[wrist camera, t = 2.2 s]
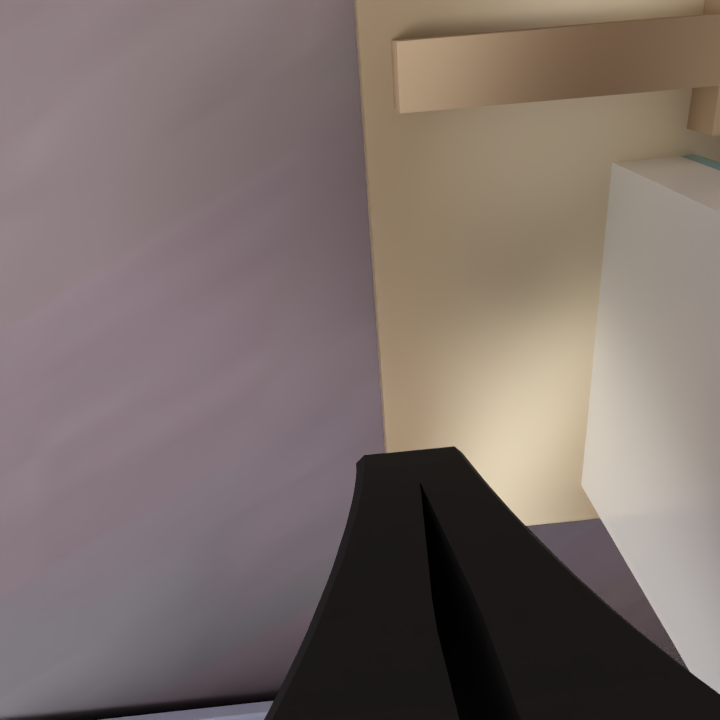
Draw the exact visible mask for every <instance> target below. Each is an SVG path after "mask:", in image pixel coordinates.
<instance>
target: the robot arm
mask: <svg viewBox="0 0 720 720" xmlns="http://www.w3.org/2000/svg"><path fill="white" fill-rule="evenodd" d="M356 469H357V473H356V483H355V490H354V495H353V500H352V504H351V508H350V512H349V516H348V520H347V524H346V528H345V531H344V534H343V537H342V540H341V543H340V546H339V550H338V553H337V556H336V559H335V562H334V565H333V568H332V571H331V574H330V576H329V579H328V582H327V584H326V587H325V589H324V592H323V594H322V596H321V599H320V601H319V604H318V606H317V609H316V611H315V614H314V616H313V619H312V621H311V624H310V626H309V629H308V631H307V633H306V635H305V638H304V640H303V642H302V644H301V646H300V649H299V651H298V653H297V655H296V657H295V659H294V661H293V663H292V666H291V668H290V670H289V672H288V674H287V676H286V678H285V680H284V682H283V684H282V686H281V688H280V690H279V692H278V694H277V696H276V697H275V699H274V701H265V702H255V703H246V704H237V705H228V706H219V707H210V708H200V709H191V710H182V711H173V712H164V713H154V714H145V715H136V716H127V717H118V718H109V719H99V720H720V694H719V693H718V692H716V691H715V690H714V689H712V688H711V687H710V686H708V685H707V684H705V683H704V682H703V681H701V680H700V679H699V678H697V677H696V676H695V675H693V674H692V673H691V672H689V671H688V670H687V669H685V668H684V667H683V666H682V665H680V664H679V663H678V662H677V661H675V660H674V659H673V658H672V657H670V656H669V655H668V654H666V653H665V652H664V651H663V650H661V649H660V648H659V647H658V646H656V645H655V644H654V643H653V642H651V641H650V640H649V639H648V638H646V637H645V636H644V635H643V634H641V633H640V632H639V631H638V630H637V629H636V628H634V627H633V626H632V625H631V624H630V623H628V622H627V621H626V620H625V619H624V618H623V617H621V616H620V615H619V614H618V613H617V612H616V611H614V610H613V609H612V608H611V607H610V606H609V605H607V604H606V603H605V602H604V601H603V600H602V599H601V598H600V597H599V596H598V595H596V594H595V593H594V592H593V591H592V590H591V589H590V588H589V587H588V586H587V585H586V584H584V583H583V582H582V581H581V580H580V579H579V578H578V577H577V576H576V575H575V574H574V573H573V572H571V571H570V570H569V569H568V568H567V567H566V566H565V565H564V564H563V563H562V562H561V561H560V560H559V559H558V558H557V557H556V556H555V555H554V554H553V553H552V552H551V551H550V550H549V549H548V548H547V547H546V546H545V545H544V544H543V543H542V542H541V541H540V540H539V539H538V538H537V537H536V536H535V535H534V534H533V533H532V532H531V531H530V530H529V529H528V528H527V527H526V526H525V525H524V524H523V522H522V521H521V520H520V519H519V518H518V517H517V516H516V515H515V514H514V513H513V512H512V511H511V510H510V508H509V507H508V506H507V505H506V504H505V503H504V502H503V501H502V500H501V498H500V497H499V496H498V495H497V494H496V493H495V492H494V490H493V489H492V488H491V487H490V486H489V485H488V484H487V482H486V481H485V480H484V479H483V478H482V476H481V475H480V474H479V473H478V472H477V470H476V469H475V468H474V467H473V465H472V464H471V463H470V462H469V460H468V459H467V458H466V457H465V455H464V454H463V453H462V452H461V451H460V450H458V449H457V448H456V447H455V446H452V447H442V448H432V449H422V450H412V451H402V452H392V453H382V454H372V455H364V456H363V457H362V458H361V459H360V460H359V461H358V462H357V463H356Z"/></svg>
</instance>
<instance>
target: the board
mask: <svg viewBox="0 0 720 720" xmlns="http://www.w3.org/2000/svg"><path fill="white" fill-rule="evenodd" d="M704 4H705V0H354V9H355V23H356V38H357V52H358V67H359V81H360V96H361V110H362V125H363V139H364V154H365V168H366V183H367V197H368V212H369V226H370V240H371V255H372V269H373V284H374V298H375V313H376V327H377V342H378V356H379V371H380V385H381V400H382V414H383V429H384V443H385V453H392V452H402V451H412V450H422V449H432V448H442V447H452V446H455V447H456V448H457V449H458V450H460V451H461V452H462V453H463V454H464V455H465V457H466V458H467V459H468V460H469V462H470V463H471V464H472V465H473V467H474V468H475V469H476V470H477V472H478V473H479V474H480V475H481V476H482V478H483V479H484V480H485V481H486V482H487V484H488V485H489V486H490V487H491V488H492V489H493V490H494V492H495V493H496V494H497V495H498V496H499V497H500V498H501V500H502V501H503V502H504V503H505V504H506V505H507V506H508V507H509V508H510V510H511V511H512V512H513V513H514V514H515V515H516V516H517V517H518V518H519V519H520V520H521V521H522V522H523V524H524V525H525V526H529V525H538V524H548V523H558V522H567V521H577V520H587V519H596V518H600V517H599V515H598V513H597V512H596V510H595V508H594V506H593V505H592V503H591V501H590V500H589V498H588V496H587V494H586V493H585V491H584V489H583V488H582V486H581V481H582V471H583V461H584V450H585V440H586V429H587V419H588V408H589V398H590V387H591V377H592V367H593V356H594V346H595V335H596V325H597V314H598V304H599V294H600V283H601V273H602V262H603V252H604V241H605V231H606V220H607V210H608V200H609V189H610V179H611V168H612V162H619V161H631V160H642V159H653V158H664V157H675V156H686V155H700V156H703V157H706V158H708V159H711V160H714V161H717V162H720V135H716V136H710V135H707V134H703V133H700V132H696V131H693V130H689V129H687V123H688V116H689V109H690V102H691V95H692V88H688V89H676V90H665V91H653V92H642V93H630V94H619V95H607V96H596V97H584V98H573V99H561V100H550V101H539V102H527V103H516V104H504V105H493V106H481V107H470V108H458V109H447V110H435V111H424V112H412V113H401V114H400V113H399V112H398V111H397V110H396V109H395V108H394V97H393V76H392V55H391V40H400V39H412V38H424V37H435V36H447V35H459V34H471V33H483V32H495V31H506V30H518V29H530V28H542V27H554V26H566V25H578V24H589V23H601V22H613V21H625V20H637V19H649V18H660V17H672V16H684V15H696V14H703V11H704Z"/></svg>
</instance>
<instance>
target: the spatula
mask: <svg viewBox="0 0 720 720" xmlns="http://www.w3.org/2000/svg"><path fill="white" fill-rule="evenodd" d="M391 55H392V76H393V97H394V108H395V109H396V110H397V111H398V112H399V113H400V114H401V113H412V112H424V111H435V110H447V109H458V108H470V107H481V106H493V105H504V104H516V103H527V102H539V101H550V100H561V99H573V98H584V97H596V96H607V95H619V94H630V93H642V92H653V91H665V90H676V89H688V88H692V95H691V102H690V109H689V116H688V123H687V129H689V130H693V131H696V132H700V133H703V134H707V135H710V136H716V135H720V0H705V4H704V11H703V14H696V15H684V16H672V17H660V18H649V19H637V20H625V21H613V22H601V23H589V24H578V25H566V26H554V27H542V28H530V29H518V30H506V31H495V32H483V33H471V34H459V35H447V36H435V37H424V38H412V39H400V40H391Z"/></svg>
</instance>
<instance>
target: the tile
mask: <svg viewBox="0 0 720 720" xmlns="http://www.w3.org/2000/svg"><path fill="white" fill-rule="evenodd" d="M581 486H582V488H583V489H584V491H585V493H586V494H587V496H588V498H589V500H590V501H591V503H592V505H593V506H594V508H595V510H596V512H597V513H598V515H599V517H600V518H601V520H602V522H603V524H604V525H605V527H606V529H607V530H608V532H609V534H610V536H611V537H612V539H613V541H614V542H615V544H616V546H617V548H618V549H619V551H620V553H621V554H622V556H623V558H624V560H625V561H626V563H627V565H628V566H629V568H630V570H631V572H632V573H633V575H634V577H635V578H636V580H637V582H638V584H639V585H640V587H641V589H642V590H643V592H644V594H645V596H646V597H647V599H648V601H649V602H650V604H651V606H652V608H653V609H654V611H655V613H656V614H657V616H658V618H659V620H660V621H661V623H662V625H663V626H664V628H665V630H666V632H667V633H668V635H669V637H670V638H671V640H672V642H673V644H674V645H675V647H676V649H677V650H678V652H679V654H680V656H681V657H682V659H683V661H684V662H685V664H686V666H687V668H688V669H689V671H690V672H691V673H692V674H693V675H695V676H696V677H697V678H699V679H700V680H701V681H703V682H704V683H705V684H707V685H708V686H710V687H711V688H712V689H714V690H715V691H716V692H718V693H719V694H720V162H717V161H714V160H711V159H708V158H706V157H703V156H700V155H686V156H675V157H664V158H653V159H642V160H631V161H619V162H612V168H611V179H610V189H609V200H608V210H607V220H606V231H605V241H604V252H603V262H602V273H601V283H600V294H599V304H598V314H597V325H596V335H595V346H594V356H593V367H592V377H591V387H590V398H589V408H588V419H587V429H586V440H585V450H584V461H583V471H582V481H581Z"/></svg>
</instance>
